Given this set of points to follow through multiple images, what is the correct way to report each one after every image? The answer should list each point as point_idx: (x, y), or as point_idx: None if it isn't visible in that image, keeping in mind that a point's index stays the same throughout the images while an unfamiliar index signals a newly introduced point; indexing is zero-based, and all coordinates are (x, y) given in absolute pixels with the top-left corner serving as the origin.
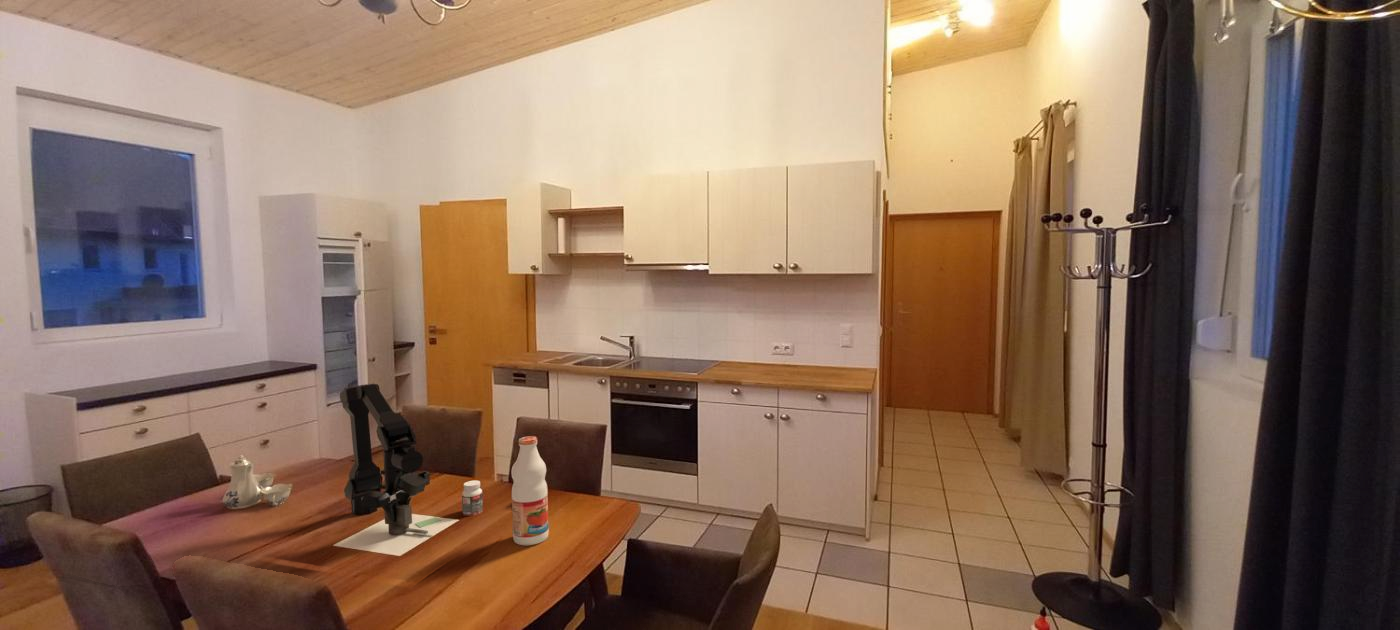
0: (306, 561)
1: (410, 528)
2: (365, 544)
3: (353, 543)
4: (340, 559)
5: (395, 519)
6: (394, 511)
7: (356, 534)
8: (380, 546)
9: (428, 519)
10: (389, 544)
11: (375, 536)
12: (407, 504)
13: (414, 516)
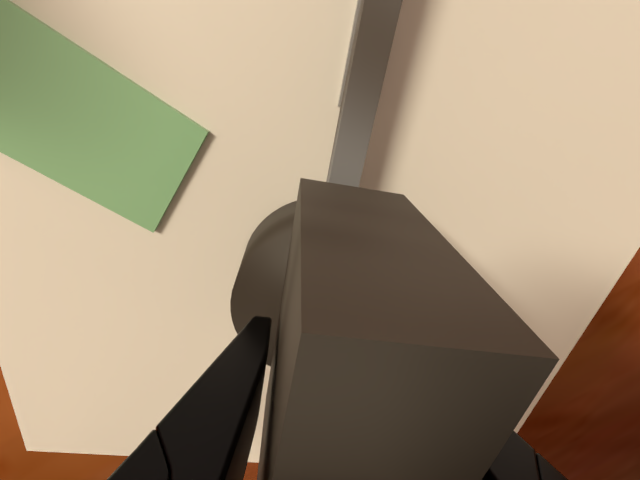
0: (584, 467)
1: (334, 164)
2: None
3: None
4: (609, 367)
5: None
6: (530, 464)
7: None
8: (565, 245)
9: (24, 155)
10: (543, 200)
11: None
12: (185, 456)
13: (29, 321)
